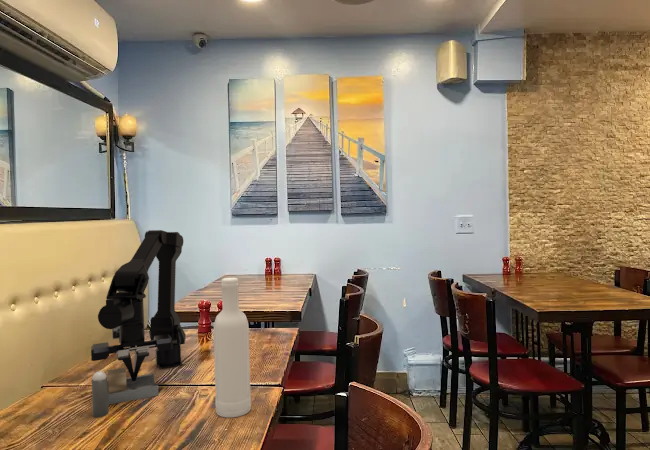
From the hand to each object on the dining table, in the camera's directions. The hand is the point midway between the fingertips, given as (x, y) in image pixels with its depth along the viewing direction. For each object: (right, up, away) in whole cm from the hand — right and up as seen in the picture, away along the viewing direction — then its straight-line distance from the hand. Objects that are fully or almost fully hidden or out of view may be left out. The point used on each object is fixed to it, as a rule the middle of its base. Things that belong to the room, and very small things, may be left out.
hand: (133, 380), depth 118 cm
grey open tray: (-2, -3, -1) cm, 4 cm away
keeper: (-3, -2, -2) cm, 4 cm away
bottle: (+27, -3, -12) cm, 30 cm away
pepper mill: (-2, -3, -12) cm, 13 cm away
